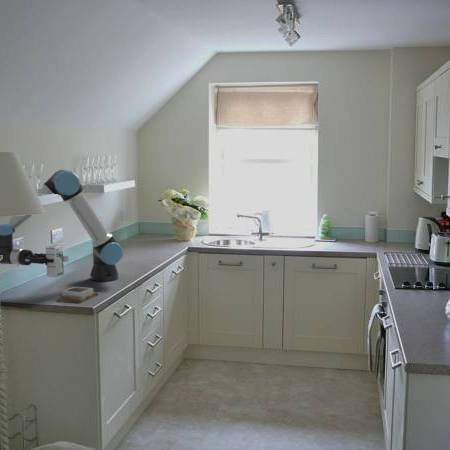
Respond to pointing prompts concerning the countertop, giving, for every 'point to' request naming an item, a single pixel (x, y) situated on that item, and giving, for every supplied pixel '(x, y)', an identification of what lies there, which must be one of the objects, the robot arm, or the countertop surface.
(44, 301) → the countertop surface
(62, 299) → the carrier plate
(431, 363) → the countertop surface
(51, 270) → the syrup box
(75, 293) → the socket collar
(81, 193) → the robot arm
